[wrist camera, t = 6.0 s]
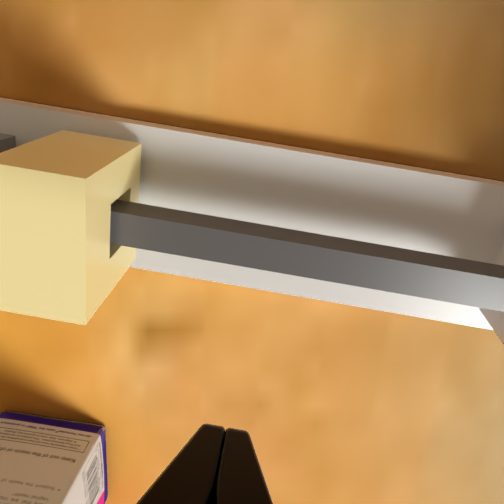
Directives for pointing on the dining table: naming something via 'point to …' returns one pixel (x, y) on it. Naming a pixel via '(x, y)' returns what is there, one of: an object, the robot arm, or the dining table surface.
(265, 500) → the robot arm
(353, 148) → the dining table surface
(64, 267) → the sleeve
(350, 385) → the dining table surface
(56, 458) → the supplement box
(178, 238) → the linear slide rail
